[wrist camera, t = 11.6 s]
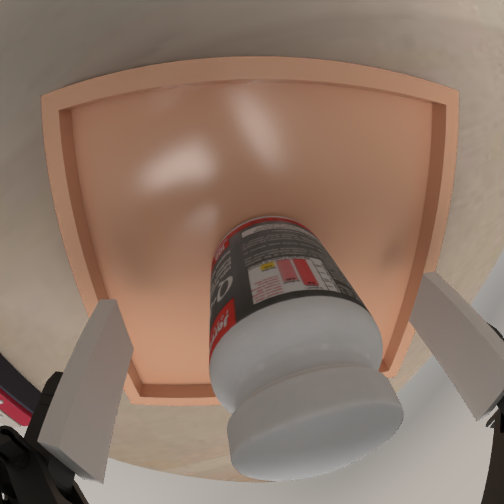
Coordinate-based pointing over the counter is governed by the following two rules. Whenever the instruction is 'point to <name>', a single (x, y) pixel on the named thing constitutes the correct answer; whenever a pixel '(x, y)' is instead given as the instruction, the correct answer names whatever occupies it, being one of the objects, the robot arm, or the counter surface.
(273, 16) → the counter surface
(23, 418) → the calculator
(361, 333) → the pill bottle
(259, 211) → the tray
